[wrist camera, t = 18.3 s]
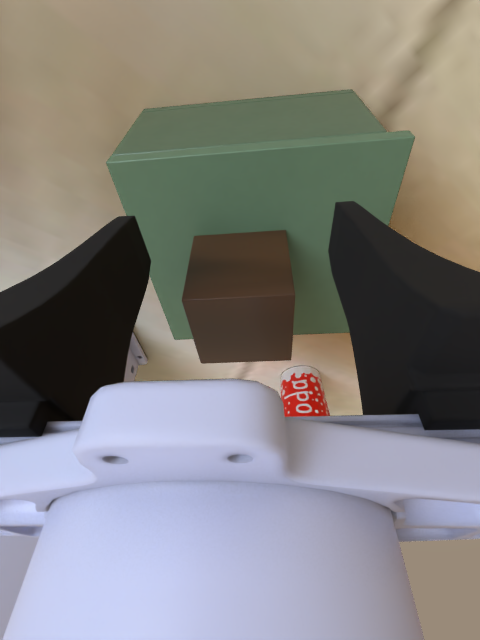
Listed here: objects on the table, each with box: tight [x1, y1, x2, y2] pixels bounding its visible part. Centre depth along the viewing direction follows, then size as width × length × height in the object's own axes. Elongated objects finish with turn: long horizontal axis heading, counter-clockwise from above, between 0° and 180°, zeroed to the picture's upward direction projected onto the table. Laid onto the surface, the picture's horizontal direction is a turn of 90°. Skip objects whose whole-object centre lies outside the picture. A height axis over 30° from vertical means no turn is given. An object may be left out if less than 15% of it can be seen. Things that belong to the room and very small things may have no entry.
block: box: [181, 230, 295, 363], centre depth 15 cm, size 4×4×4 cm
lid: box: [106, 131, 415, 340], centre depth 17 cm, size 12×12×1 cm
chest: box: [112, 89, 387, 156], centre depth 19 cm, size 11×12×6 cm
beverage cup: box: [281, 366, 330, 417], centre depth 33 cm, size 6×6×14 cm
